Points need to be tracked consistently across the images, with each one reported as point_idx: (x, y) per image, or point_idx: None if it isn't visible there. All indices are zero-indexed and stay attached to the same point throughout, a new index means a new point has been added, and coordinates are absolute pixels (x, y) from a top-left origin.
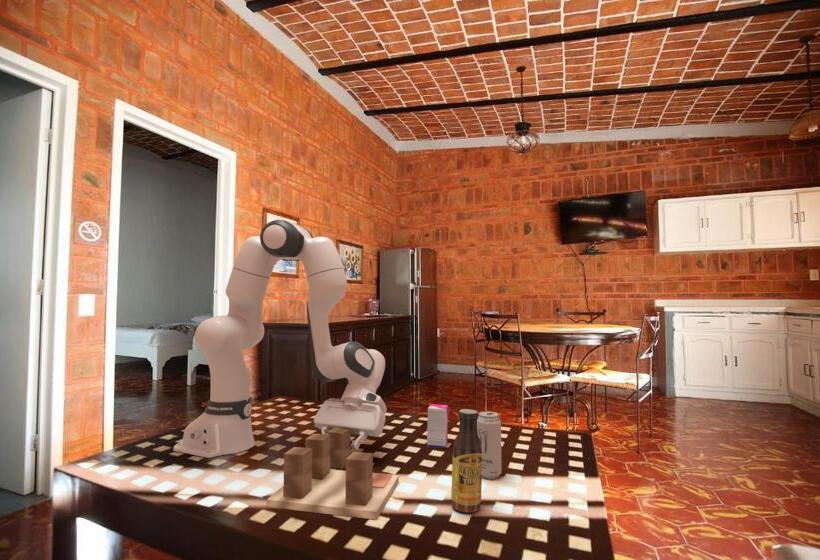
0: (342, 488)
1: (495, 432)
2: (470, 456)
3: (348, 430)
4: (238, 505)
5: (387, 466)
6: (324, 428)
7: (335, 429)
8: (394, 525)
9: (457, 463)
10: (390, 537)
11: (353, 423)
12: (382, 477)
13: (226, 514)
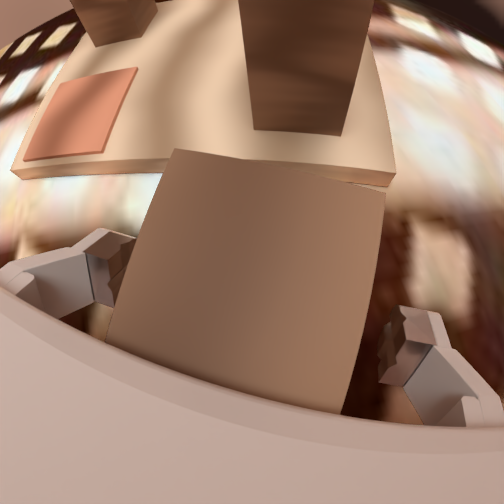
0: (173, 48)
1: None
2: None
3: (119, 299)
4: (416, 24)
5: None
6: (479, 405)
7: (319, 315)
8: (78, 30)
9: None
10: None
11: (22, 352)
12: (49, 130)
13: (406, 6)
